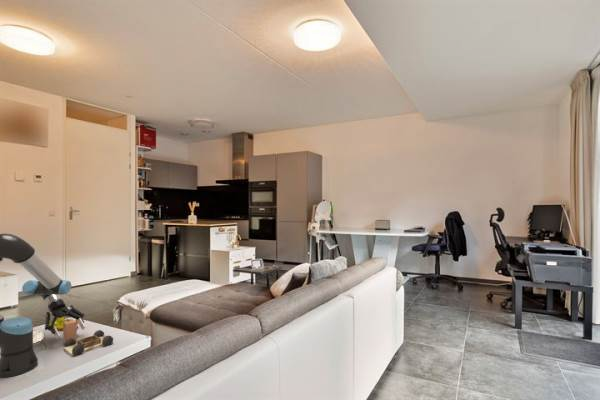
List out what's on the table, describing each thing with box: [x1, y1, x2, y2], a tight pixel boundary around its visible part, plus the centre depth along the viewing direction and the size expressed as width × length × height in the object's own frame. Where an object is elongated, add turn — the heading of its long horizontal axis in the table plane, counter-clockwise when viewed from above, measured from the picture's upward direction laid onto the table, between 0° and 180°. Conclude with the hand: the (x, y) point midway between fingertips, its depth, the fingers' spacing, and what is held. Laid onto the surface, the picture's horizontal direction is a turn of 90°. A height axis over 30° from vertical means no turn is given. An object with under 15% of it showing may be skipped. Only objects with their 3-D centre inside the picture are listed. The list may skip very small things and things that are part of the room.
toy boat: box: [49, 316, 79, 331], centre depth 203 cm, size 6×18×10 cm, turn 89°
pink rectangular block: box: [62, 319, 78, 345], centre depth 182 cm, size 5×5×12 cm
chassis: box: [63, 329, 114, 358], centre depth 177 cm, size 20×14×5 cm
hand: (71, 332), depth 182 cm, fingers open, 13 cm apart
